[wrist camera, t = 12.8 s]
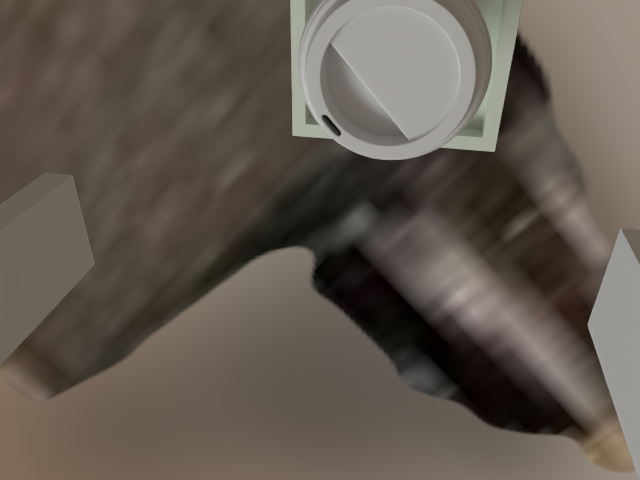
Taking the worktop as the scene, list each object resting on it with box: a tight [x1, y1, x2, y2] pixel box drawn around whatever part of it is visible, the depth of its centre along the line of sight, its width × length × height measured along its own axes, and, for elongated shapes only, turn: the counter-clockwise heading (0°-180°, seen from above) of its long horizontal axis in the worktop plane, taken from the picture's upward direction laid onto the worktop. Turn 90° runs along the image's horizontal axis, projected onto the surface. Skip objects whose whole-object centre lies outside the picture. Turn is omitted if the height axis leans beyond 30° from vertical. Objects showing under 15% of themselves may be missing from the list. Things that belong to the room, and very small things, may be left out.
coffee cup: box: [298, 0, 492, 160], centre depth 32 cm, size 10×10×15 cm
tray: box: [290, 0, 523, 152], centre depth 38 cm, size 17×15×2 cm
